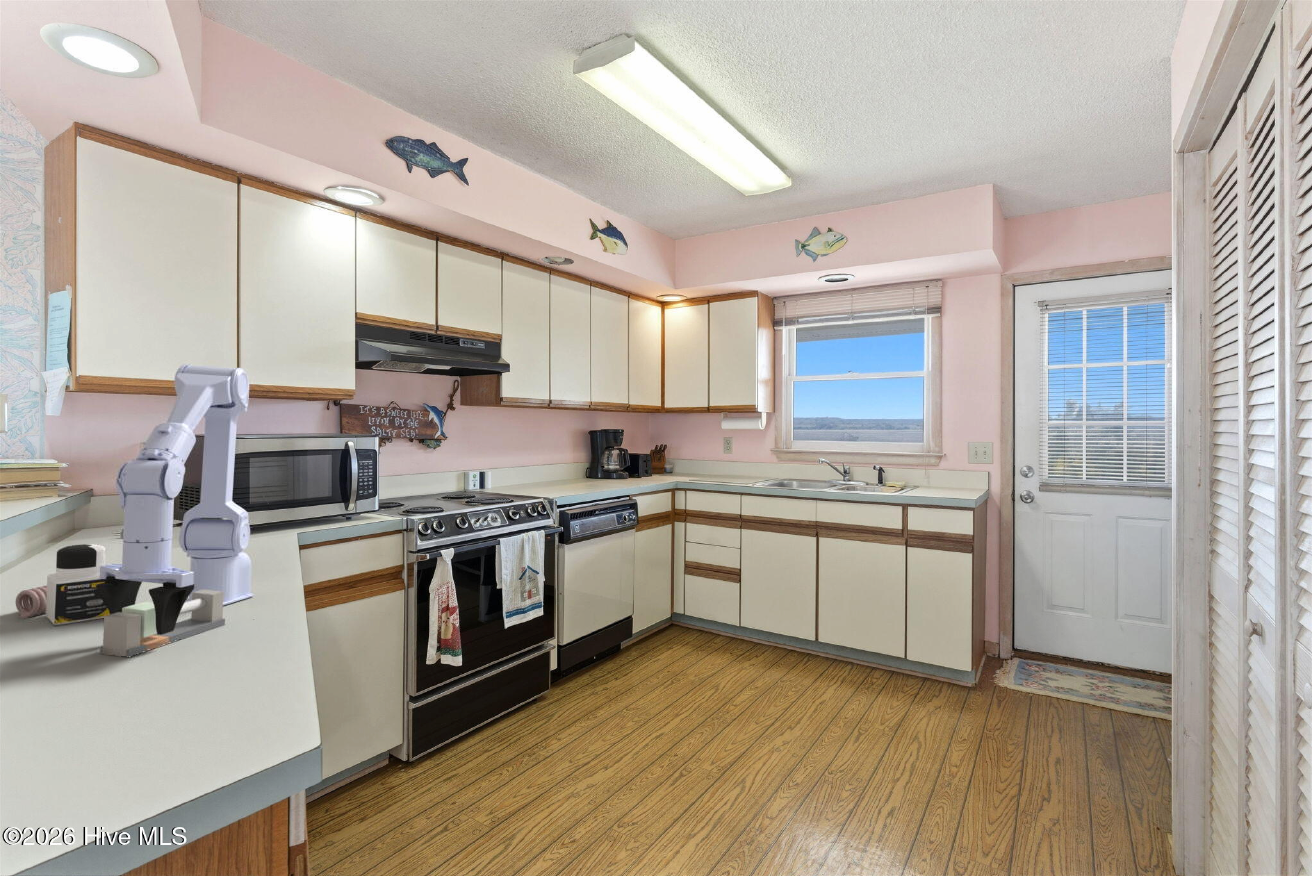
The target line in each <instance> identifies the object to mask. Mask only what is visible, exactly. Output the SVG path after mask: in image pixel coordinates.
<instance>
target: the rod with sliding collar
mask: <svg viewBox="0 0 1312 876" xmlns="http://www.w3.org/2000/svg"><path fill="white" fill-rule="evenodd" d="M223 593H224V592H221V591H212V590H200V591H196V592H192V601H188V602H185V603H184V605H183V607H182V609H181V611H180V614H179V615H182V614H185V613H188V612H191V617H190V618H188V619H185V620H182V621H177V622H176V625H175V628H174V631H172V632H169V633H166V634H163V635H158V634H154V635H151V636H148V637H144V638H142V637H140V635H141V615H138V614H129V613H121V612H118V613H114V614H110V615H106V616H104V618H103V639H102V646H100V647H99V654H100V655H107V656H113V655H115V656H114V657H121V656H128V657H129V656H132V657H134V656H133V655H135V656H137V655H136V654H137V653H141V652H143V651H147V650H148V649H152V648H155V649H157V648H156V647H158V646H161V645H163V644H167V643H169V642H173V641H175V640H179V639H181V640H185V639H187V638H190V637H193V636H195V635H199V634H201V633H204V632H208V631H210V630H212V629H216V628H219V627H222V626H225V623H226V618H224V617H223V613H224V612H223V610H224V605H223ZM207 630H208V631H207ZM198 633H199V634H198ZM192 635H193V636H192ZM186 637H187V638H186ZM179 641H180V640H179ZM173 643H174V642H173ZM167 645H168V644H167ZM161 647H162V646H161ZM158 648H159V647H158ZM152 650H153V649H152ZM147 652H148V651H147ZM141 654H142V653H141ZM128 657H127V658H128ZM129 658H130V657H129Z"/></svg>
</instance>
